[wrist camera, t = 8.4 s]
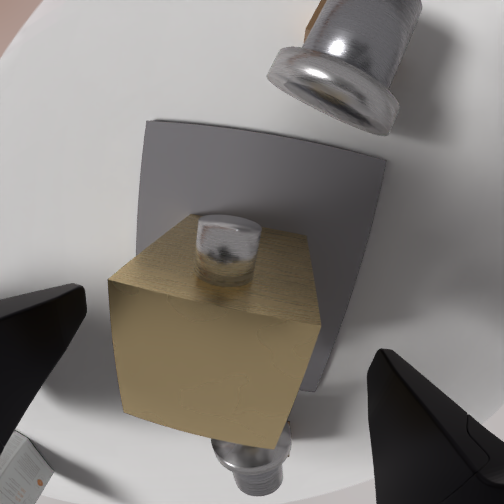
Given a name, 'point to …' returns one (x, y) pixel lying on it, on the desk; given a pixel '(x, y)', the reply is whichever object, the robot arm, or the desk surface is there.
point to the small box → (22, 472)
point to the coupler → (215, 328)
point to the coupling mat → (267, 202)
